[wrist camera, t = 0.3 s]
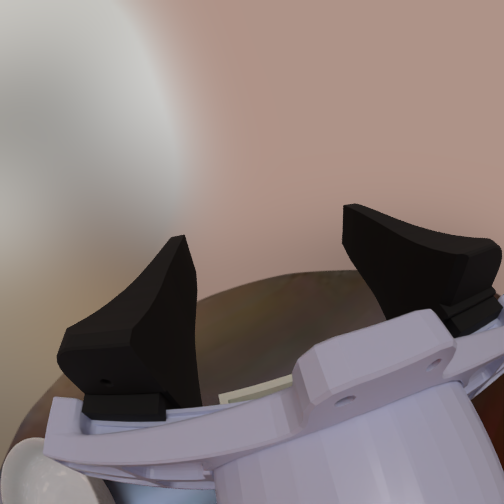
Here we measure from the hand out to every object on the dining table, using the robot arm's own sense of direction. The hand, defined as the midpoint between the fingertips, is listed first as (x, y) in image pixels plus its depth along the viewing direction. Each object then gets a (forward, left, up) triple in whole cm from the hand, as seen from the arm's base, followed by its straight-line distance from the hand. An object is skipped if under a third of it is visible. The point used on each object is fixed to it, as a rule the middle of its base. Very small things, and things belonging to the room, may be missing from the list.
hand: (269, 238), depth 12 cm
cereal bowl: (-11, +28, -21) cm, 37 cm away
